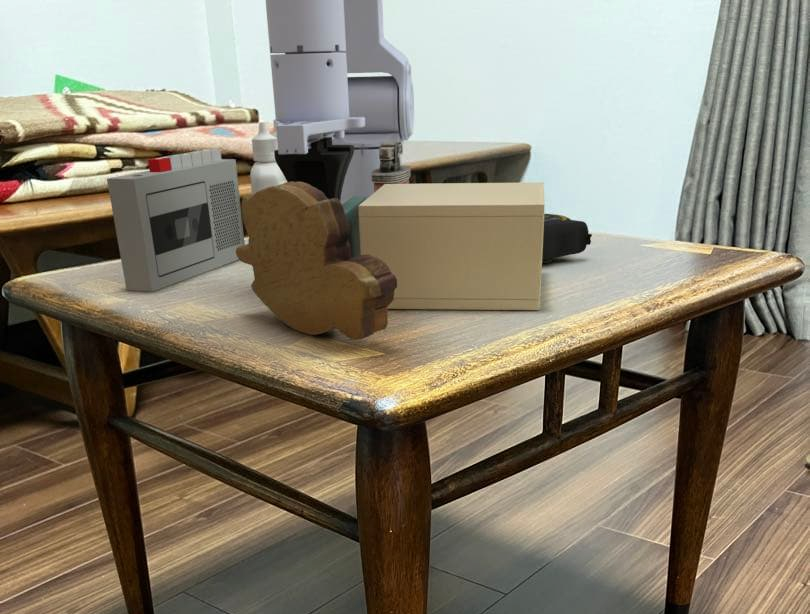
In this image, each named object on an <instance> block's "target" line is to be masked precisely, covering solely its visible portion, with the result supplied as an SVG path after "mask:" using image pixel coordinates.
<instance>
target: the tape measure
mask: <svg viewBox="0 0 810 614" xmlns="http://www.w3.org/2000/svg"><path fill="white" fill-rule="evenodd" d="M592 236H593V233H589V227H588V224H587V223H586V222H585V221H583V220H575V219H571V218H570V217H567V216H565V215H561V214H554V213H544V230H543V250H542V263H546V264H547V263H548V264H549V263H551V262H552V261H553V260H554V259H557V258H562V257H566V256H572V255H578V254H581V253H583V252H584V251H585V250H586V249H587V246H589V245H591V243H592V239H591V238H592Z"/></svg>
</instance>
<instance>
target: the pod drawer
mask: <svg viewBox="0 0 810 614" xmlns="http://www.w3.org/2000/svg"><path fill="white" fill-rule="evenodd" d="M365 200H366V196H353V197H352V198H350V199H349V200H348V201H346V202H345V203H344V204H342V206H343V209H344V211H345V214H346V217H347V220H348V223H349V227H350V237H349V239H348V240H347V241H348V243H349V245H350V248H351V250H350V252H351V255H352V258H354V257H356V256H360V255H361V250H360V229H359V209H358V206H359V205H360V204H361V203H362V202H364V201H365Z"/></svg>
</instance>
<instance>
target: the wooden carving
mask: <svg viewBox="0 0 810 614" xmlns="http://www.w3.org/2000/svg"><path fill="white" fill-rule="evenodd" d="M241 214H242V223H243V226H244V228H245V230H246V234H247V236H248V243H245V245H243V246H240V247H238V248H237V249H236V255H237V257H238V258H239V261H240V262H241V263H244V264H246V265H251V267H252V272H253V277H254V279H253V281H252V283H251V285H250V287H251V290H252V291H253V293H254V294H255V296H256V297H257V298H258V299H259V300H260V301H261V303H263V304H264V306H266V308H268V309H269V311H271V313H273V314H274V316H275V317H277V319H279V320H280V321H281V322H282V323H284V324H285V325H286V326H288V327H289V328H291V329H293V330H295V331H297V332H299V333H302V334H307V335H310V336H316V335H321V334H324V333H327V332H329V331H331V330H334V329H336V330H338V331H339V332H340V333H341V334H343V335H344V336H345V337H347V338H348V339H353V340H363V339H366V338H368V337H370V336H372V335H374V333H377V332H380V331H383V330H385V329H386V328H387V327H388V324H389V319H388V317H389V316H388V315H389V313H388V310H389V309H387V308H388V305H389V304H390V303H391V302H392V301H393V299H394V292H395V289H396V288H397V279H396V277H395V275H394V274H392V272H391V270H390V269H389V267H388V265H387V264H385V263H384V262H383V261H382V260H380V259H379V258H377V257H373V256H371V255H360V256H356V257H354V258H352V255H351V252H350V250H351V248H350V245H349V243H348V241H347V240H348V239H349V237H350V227H349V223H348V220H347V217H346V214H345V211H344V209H343V206H342V204H341V202H340V201H339V199H337V198H332V199H328V198H327V197H326V196H325V194H324V193H323V192H322V191H320V190H318V189H317V188H315V187H313V186H311V185H309V184H307V183H304V182H293V181H292V182H288V183H287V182H286V183H284V184H280V185H276V186H271V187H267V188H265V189H262V190H260V191H258V192H256V193H255V194H252V193H247V194H243V195H242V200H241Z"/></svg>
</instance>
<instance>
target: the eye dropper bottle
mask: <svg viewBox="0 0 810 614" xmlns="http://www.w3.org/2000/svg"><path fill="white" fill-rule="evenodd" d="M251 146H252V157H253V161H254V163H253V165H252V167H251V169H250V172H249V173H250V174H249V177H250V187H251V188H250V189H251V194H255V193H256V192H258V191H260V190H262V189H265V188H267V187H271V186H276V185H280V184H284V183H287V180H286V178H285V177H284V175H283V173H282V171H281V170H280V168H279V166H278V165H277V163H276V160H275V155H274V151H275V150H278V143H277V136H274V135H272V134H271V132H270V130H269V127H268V123H267V121H260V122H258V132H257V135H256V136H254V137H253V138H252V139H251Z"/></svg>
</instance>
